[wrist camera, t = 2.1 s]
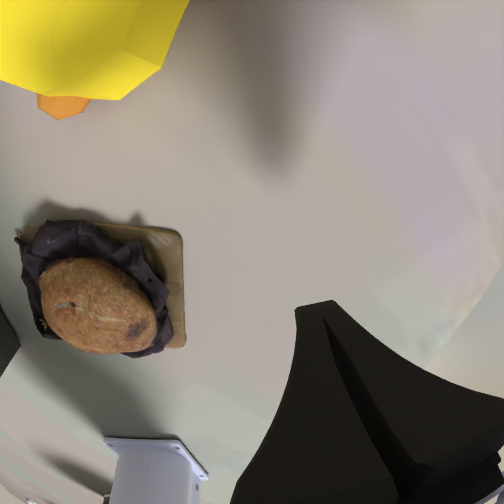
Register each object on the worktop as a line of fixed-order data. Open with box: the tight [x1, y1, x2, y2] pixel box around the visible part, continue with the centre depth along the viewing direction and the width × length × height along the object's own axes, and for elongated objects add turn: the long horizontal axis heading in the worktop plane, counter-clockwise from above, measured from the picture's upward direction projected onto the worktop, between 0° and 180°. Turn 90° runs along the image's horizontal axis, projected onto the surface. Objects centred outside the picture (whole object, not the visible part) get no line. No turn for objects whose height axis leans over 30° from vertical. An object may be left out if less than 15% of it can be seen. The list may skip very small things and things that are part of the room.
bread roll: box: [14, 220, 187, 358], centre depth 14 cm, size 11×8×4 cm
